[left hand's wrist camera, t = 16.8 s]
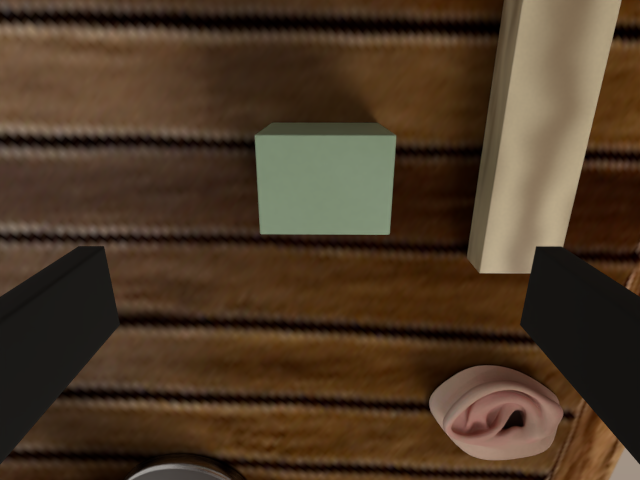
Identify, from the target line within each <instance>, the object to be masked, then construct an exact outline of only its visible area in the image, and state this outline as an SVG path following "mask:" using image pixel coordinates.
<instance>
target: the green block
mask: <svg viewBox="0 0 640 480" xmlns="http://www.w3.org/2000/svg"><path fill="white" fill-rule="evenodd" d="M395 147H396V135H395V134H393V133H392V132H390V131H389V130H388V129H386V128H385V127H383V126H382V125H380V124H379V123H271V124H270V125H268V126H267V127H265V128H264V129H263V130H261V131H260V132H258V133H257V134H256V135H255V150H256V168H257V186H258V204H259V221H260V233H261V234H370V235H388V234H390V221H391V206H392V191H393V177H394V162H395Z"/></svg>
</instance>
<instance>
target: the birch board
mask: <svg viewBox="0 0 640 480" xmlns="http://www.w3.org/2000/svg"><path fill="white" fill-rule="evenodd" d="M620 4H621V0H504V4H503V11H502V18H501V25H500V32H499V39H498V46H497V53H496V59H495V66H494V73H493V80H492V87H491V94H490V101H489V108H488V115H487V122H486V128H485V135H484V142H483V149H482V156H481V163H480V170H479V177H478V184H477V191H476V198H475V204H474V211H473V218H472V225H471V232H470V239H469V246H468V253H467V259H468V260H469V261H470V262H471V263H472V265H473V266H474V267H475V268H476V269H477V271H478V272H479V273H531V269H532V264H533V259H534V254H535V249H536V246H561V247H563V245H564V240H565V236H566V232H567V228H568V223H569V219H570V215H571V211H572V207H573V202H574V198H575V194H576V190H577V186H578V181H579V177H580V173H581V169H582V164H583V160H584V156H585V152H586V148H587V143H588V139H589V135H590V131H591V126H592V122H593V118H594V114H595V110H596V105H597V101H598V97H599V93H600V89H601V84H602V80H603V76H604V72H605V67H606V63H607V59H608V55H609V51H610V46H611V42H612V38H613V34H614V29H615V25H616V21H617V17H618V13H619V8H620Z"/></svg>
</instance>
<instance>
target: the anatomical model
mask: <svg viewBox="0 0 640 480" xmlns="http://www.w3.org/2000/svg"><path fill="white" fill-rule="evenodd" d="M429 407H430V410H431V412H432V414H433V416H434V417H435V419H436V421H437V422H438V423H439V425H440V426H441V427H442V429H443V430H444V431H445V432H446V434H447V435H448V436H449V437H450V438H451V439H452V440H453V441H454V443H455V444H456V445H458V446H459V447H460V448H461V449H462V450H463V451H465V452H466V453H468V454H469V455H471V456H474V457H476V458H480V459H486V460H507V459H516V458H522V457H528V456H532V455H536V454H539V453H541V452H543V451H545V450H547V449H548V448H549V447H550V445H551V444H552V442H553V440H554V437H555V434H556V430H557V426H558V424H559V423H560V421H561V419H562V417H563V410H562V408H561V406H560V405H559V401H558V398H557V397H556V396H555V394H554V393H552V392H551V391H550V390H549V389H547V388H546V387H545V386H543V385H542V384H540V383H539V382H537V381H536V380H534V379H532V378H531V377H529V376H527V375H525V374H523V373H521V372H518V371H516V370H513V369H510V368H506V367H501V366H492V365H482V366H475V367H471V368H468V369H465V370H463V371H461V372H459V373H457V374H456V375H454V376H452V377H451V378H449V379H448V380H447V381H445V382H444V383H443V384H441V385H440V386H439V387H438V388H437V389H436V390H435V391H434V392H433V394H432V395H431V397H430V400H429Z"/></svg>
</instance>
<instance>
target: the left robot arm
mask: <svg viewBox="0 0 640 480" xmlns="http://www.w3.org/2000/svg"><path fill="white" fill-rule="evenodd" d="M119 325H120V323H119V318H118V313H117V308H116V303H115V298H114V293H113V288H112V284H111V279H110V274H109V269H108V264H107V259H106V254H105V249H104V246H79V247H77V248H75V249H74V250H72V251H71V252H69V253H68V254H66V255H65V256H63V257H61V258H60V259H58V260H57V261H55V262H54V263H52V264H51V265H49V266H47V267H46V268H44V269H43V270H41V271H40V272H38V273H37V274H35V275H33V276H32V277H30V278H29V279H27V280H26V281H24V282H23V283H21V284H20V285H18V286H16V287H15V288H13V289H12V290H10V291H9V292H7V293H6V294H4V295H2V296H1V297H0V464H1V463H2V462H3V460H4V459H5V458H6V457H7V456H8V455H9V453H10V452H11V451H12V450H13V449H14V448H15V446H16V445H17V444H18V443H19V442H20V441H21V439H22V438H23V437H24V436H25V435H26V434H27V432H28V431H29V430H30V429H31V428H32V427H33V425H34V424H35V423H36V422H37V421H38V420H39V418H40V417H41V416H42V415H43V414H44V413H45V411H46V410H47V409H48V408H49V407H50V406H51V404H52V403H53V402H54V401H55V400H56V399H57V397H58V396H59V395H60V394H61V393H62V392H63V390H64V389H65V388H66V387H67V386H68V385H69V383H70V382H71V381H72V380H73V379H74V378H75V376H76V375H77V374H78V373H79V372H80V371H81V369H82V368H83V367H84V366H85V365H86V364H87V362H88V361H89V360H90V359H91V358H92V357H93V355H94V354H95V353H96V352H97V351H98V350H99V348H100V347H101V346H102V345H103V344H104V343H105V341H106V340H107V339H108V338H109V337H110V336H111V334H112V333H113V332H114V331H115V330H116V329H117V327H118V326H119ZM520 325H521V326H522V327H523V329H524V330H525V331H526V332H527V333H528V334H529V336H530V337H531V338H532V339H533V340H534V341H535V343H536V344H537V345H538V346H539V347H540V348H541V350H542V351H543V352H544V353H545V354H546V355H547V357H548V358H549V359H550V360H551V361H552V362H553V364H554V365H555V366H556V367H557V368H558V369H559V371H560V372H561V373H562V374H563V375H564V376H565V378H566V379H567V380H568V381H569V382H570V383H571V385H572V386H573V387H574V388H575V389H576V390H577V392H578V393H579V394H580V395H581V396H582V397H583V399H584V400H585V401H586V402H587V403H588V404H589V406H590V407H591V408H592V409H593V410H594V411H595V413H596V414H597V415H598V416H599V417H600V418H601V420H602V421H603V422H604V423H605V424H606V425H607V427H608V428H609V429H610V430H611V431H612V432H613V434H614V435H615V436H616V437H617V438H618V439H619V441H620V442H621V443H622V444H623V445H624V446H625V448H626V449H627V450H628V451H629V452H630V453H631V455H632V456H633V457H634V458H635V459H636V460H637V462H638V463H639V464H640V297H639V296H638V295H636V294H634V293H633V292H631V291H630V290H628V289H627V288H625V287H624V286H622V285H620V284H619V283H617V282H616V281H614V280H613V279H611V278H610V277H608V276H607V275H605V274H603V273H602V272H600V271H599V270H597V269H596V268H594V267H593V266H591V265H589V264H588V263H586V262H585V261H583V260H582V259H580V258H579V257H577V256H575V255H574V254H572V253H571V252H569V251H568V250H566V249H565V248H563V247H561V246H536V249H535V254H534V259H533V264H532V269H531V274H530V279H529V284H528V288H527V293H526V298H525V303H524V308H523V313H522V318H521V323H520ZM124 480H245V479H244V478H243V477H242V476H241V475H240V474H238V473H237V472H236V471H234V470H233V469H231V468H230V467H228V466H226V465H224V464H222V463H220V462H218V461H216V460H213V459H210V458H206V457H202V456H197V455H190V454H169V455H163V456H158V457H154V458H151V459H149V460H146V461H144V462H142V463H141V464H139V465H137V466H136V467H135V468H133V469H132V470H131V471H130V472H129V473H128V475H127V476H126V477H125V479H124Z"/></svg>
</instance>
